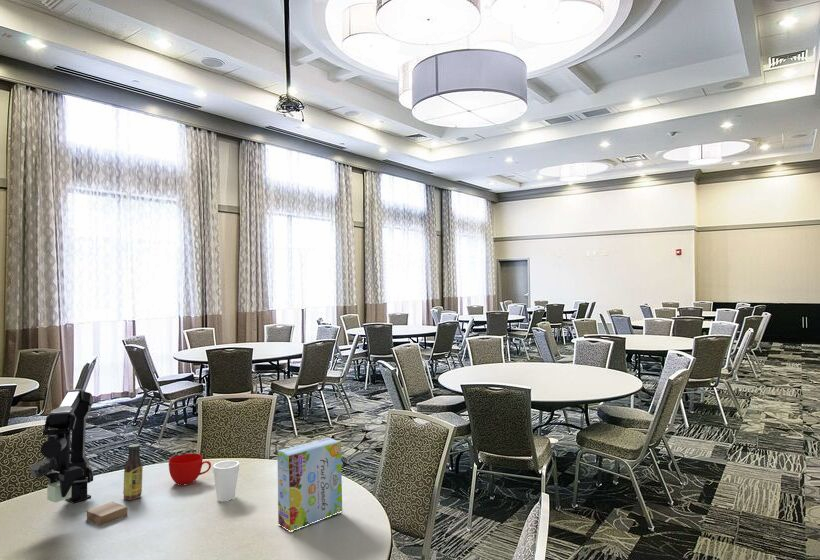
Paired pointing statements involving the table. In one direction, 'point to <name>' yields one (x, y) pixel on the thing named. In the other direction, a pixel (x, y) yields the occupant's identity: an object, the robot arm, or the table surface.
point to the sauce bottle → (133, 474)
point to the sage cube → (56, 492)
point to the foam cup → (226, 479)
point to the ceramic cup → (186, 468)
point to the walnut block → (106, 513)
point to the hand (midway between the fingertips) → (59, 495)
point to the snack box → (309, 482)
